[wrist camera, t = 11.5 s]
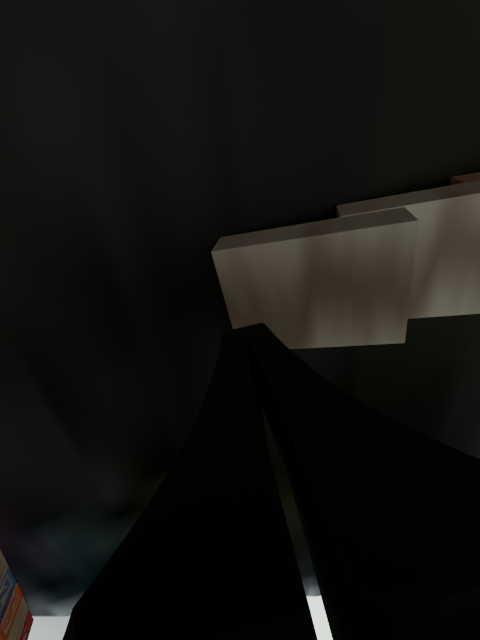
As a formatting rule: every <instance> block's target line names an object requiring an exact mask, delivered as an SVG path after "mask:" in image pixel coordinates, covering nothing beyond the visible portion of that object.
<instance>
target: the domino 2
mask: <svg viewBox="0 0 480 640" xmlns="http://www.w3.org/2000/svg"><path fill="white" fill-rule="evenodd" d="M401 207H405V208H406V209H407V210H408V211H409V212H410V213H412V214H413V215H414V216H415V217H416V218H417V219H418V220H419V223H418V232H417V240H416V249H415V258H414V266H413V275H412V284H411V292H410V301H409V310H408V319H410V318H424V317H438V316H452V315H466V314H480V180H478V181H472V182H467V183H461V184H455V185H450V186H444V187H438V188H433V189H427V190H421V191H415V192H410V193H404V194H398V195H393V196H387V197H381V198H376V199H370V200H364V201H359V202H353V203H347V204H342V205H337V218H340V217H347V216H353V215H359V214H365V213H371V212H377V211H383V210H389V209H395V208H401Z"/></svg>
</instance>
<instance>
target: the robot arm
mask: <svg viewBox="0 0 480 640" xmlns="http://www.w3.org/2000/svg"><path fill="white" fill-rule="evenodd" d="M261 404H262V407H263V410H264V413H265V415H266V418H267V421H268V423H269V426H270V429H271V431H272V434H273V437H274V439H275V442H276V445H277V447H278V450H279V453H280V455H281V458H282V461H283V463H284V466H285V469H286V472H287V475H288V478H289V481H290V484H291V488H292V492H293V495H294V499H295V502H296V506H297V509H298V513H299V517H300V520H301V524H302V527H303V531H304V535H305V538H306V542H307V545H308V549H309V553H310V556H311V560H312V564H313V567H314V571H315V574H316V578H317V582H318V585H319V589H320V593H321V596H322V600H323V604H324V607H325V611H326V615H327V618H328V622H329V626H330V629H331V633H332V637H333V640H480V459H478V458H475V457H473V456H470V455H468V454H465V453H463V452H461V451H458V450H456V449H454V448H452V447H450V446H447V445H445V444H443V443H441V442H439V441H436V440H434V439H432V438H430V437H428V436H425V435H423V434H421V433H419V432H417V431H415V430H413V429H411V428H409V427H408V426H406V425H404V424H402V423H400V422H398V421H396V420H394V419H392V418H390V417H388V416H386V415H384V414H382V413H381V412H379V411H377V410H375V409H373V408H372V407H370V406H368V405H367V404H365V403H363V402H362V401H360V400H358V399H356V398H355V397H353V396H352V395H350V394H349V393H347V392H345V391H344V390H342V389H341V388H339V387H338V386H336V385H335V384H333V383H332V382H331V381H329V380H328V379H326V378H325V377H324V376H322V375H321V374H320V373H318V372H317V371H316V370H314V369H313V368H312V367H310V366H309V365H308V364H307V363H305V362H304V361H303V360H302V359H301V358H299V357H298V356H297V355H296V354H295V353H294V352H292V351H291V350H290V349H289V348H288V347H287V346H286V345H285V344H284V343H283V342H282V341H281V340H280V339H279V338H278V337H277V336H276V335H275V334H274V333H273V332H272V331H271V330H270V329H269V328H268V327H267V325H266V324H264V323H257V324H253V325H249V326H245V327H241V328H236V329H232V330H228V331H224V332H223V334H222V335H221V345H220V350H219V355H218V359H217V363H216V366H215V369H214V373H213V376H212V379H211V382H210V385H209V388H208V390H207V393H206V396H205V398H204V401H203V404H202V406H201V408H200V411H199V413H198V415H197V417H196V420H195V422H194V424H193V426H192V428H191V430H190V432H189V434H188V436H187V438H186V440H185V442H184V444H183V446H182V448H181V449H180V451H179V453H178V455H177V457H176V459H175V460H174V462H173V464H172V466H171V467H170V469H169V471H168V473H167V474H166V476H165V478H164V479H163V481H162V482H161V484H160V486H159V487H158V489H157V490H156V492H155V493H154V495H153V496H152V498H151V499H150V501H149V503H148V504H147V506H146V507H145V509H144V510H143V512H142V513H141V515H140V516H139V518H138V519H137V521H136V523H135V524H134V525H133V527H132V528H131V530H130V531H129V533H128V534H127V536H126V537H125V538H124V540H123V541H122V543H121V544H120V545H119V547H118V548H117V549H116V551H115V552H114V553H113V555H112V556H111V557H110V559H109V560H108V562H107V563H106V564H105V566H104V567H103V568H102V570H101V571H100V572H99V574H98V575H97V576H96V578H95V579H94V581H93V582H92V583H91V585H90V586H89V587H88V589H87V590H86V591H85V593H84V594H83V595H82V597H81V598H80V599H79V601H78V602H77V603H76V605H75V606H74V608H73V610H72V613H71V616H70V620H69V623H68V626H67V629H66V632H65V635H64V637H63V640H317V637H316V633H315V629H314V625H313V621H312V618H311V614H310V610H309V606H308V602H307V598H306V595H305V591H304V587H303V583H302V579H301V576H300V572H299V568H298V564H297V560H296V557H295V553H294V549H293V545H292V541H291V537H290V534H289V530H288V526H287V522H286V518H285V515H284V511H283V507H282V503H281V499H280V495H279V492H278V488H277V484H276V480H275V476H274V472H273V468H272V465H271V461H270V457H269V451H268V445H267V439H266V433H265V426H264V420H263V414H262V407H261Z"/></svg>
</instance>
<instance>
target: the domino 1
mask: <svg viewBox="0 0 480 640" xmlns="http://www.w3.org/2000/svg"><path fill="white" fill-rule="evenodd" d="M418 223H419V220H418V219H417V218H416V217H415V216H414V215H413V214H412V213H410V212H409V211H408V210H407V209H406V208H405V207H401V208H395V209H389V210H383V211H377V212H371V213H365V214H359V215H353V216H347V217H340V218H334V219H328V220H322V221H316V222H310V223H304V224H298V225H292V226H286V227H279V228H273V229H267V230H261V231H255V232H249V233H243V234H237V235H231V236H224V237H220V239H219V240H218V242H217V243H216V245H215V246H214V248H213V249H212V251H211V253H212V257H213V260H214V264H215V267H216V271H217V275H218V278H219V282H220V285H221V289H222V292H223V296H224V299H225V303H226V306H227V310H228V313H229V317H230V320H231V324H232V327H233V329H236V328H241V327H245V326H249V325H253V324H257V323H264V324H266V325H267V327H268V328H269V329H270V330H271V331H272V332H273V333H274V334H275V335H276V336H277V337H278V338H279V339H280V340H281V341H282V342H283V343H284V344H285V345H286V346H287V347H288V348H289V349H302V348H321V347H340V346H359V345H377V344H396V343H405V336H406V327H407V319H408V310H409V301H410V292H411V284H412V275H413V266H414V258H415V249H416V240H417V232H418Z"/></svg>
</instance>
